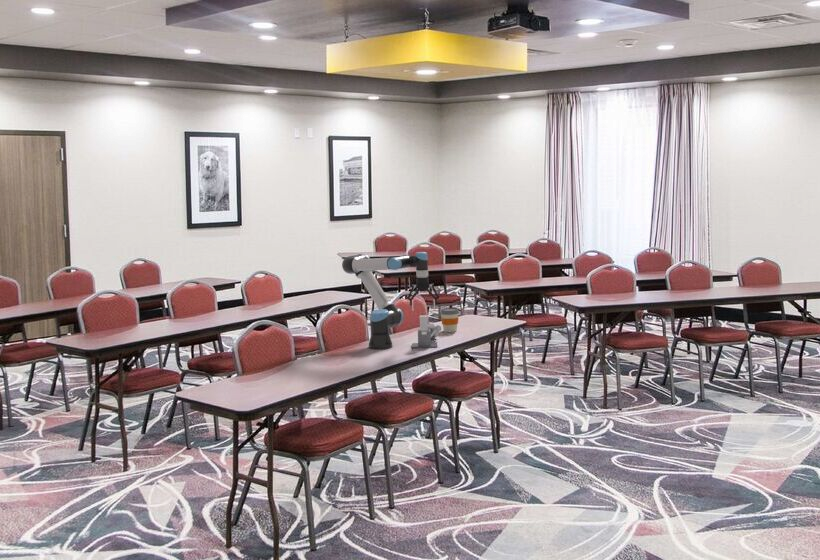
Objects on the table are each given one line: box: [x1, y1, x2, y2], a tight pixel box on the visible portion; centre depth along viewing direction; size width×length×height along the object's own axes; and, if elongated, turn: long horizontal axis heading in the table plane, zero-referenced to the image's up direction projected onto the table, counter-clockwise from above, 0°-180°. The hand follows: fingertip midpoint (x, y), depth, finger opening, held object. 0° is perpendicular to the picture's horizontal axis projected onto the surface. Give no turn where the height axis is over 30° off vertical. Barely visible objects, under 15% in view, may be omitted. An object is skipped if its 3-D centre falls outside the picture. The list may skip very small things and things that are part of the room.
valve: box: [428, 323, 442, 340], centre depth 568 cm, size 10×18×15 cm
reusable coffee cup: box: [440, 307, 460, 333], centre depth 600 cm, size 13×13×15 cm
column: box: [419, 314, 429, 332], centre depth 549 cm, size 5×5×18 cm
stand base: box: [411, 329, 438, 349], centre depth 550 cm, size 16×12×10 cm
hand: (423, 310), depth 547 cm, fingers open, 13 cm apart
